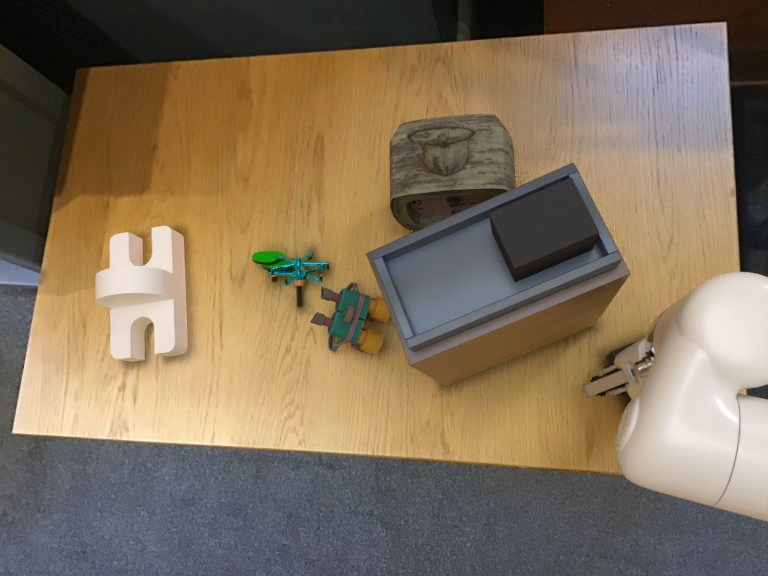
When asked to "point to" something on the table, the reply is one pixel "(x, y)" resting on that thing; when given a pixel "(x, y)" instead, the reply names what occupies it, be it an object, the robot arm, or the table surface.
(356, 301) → the binoculars
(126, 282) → the white slotted bracket
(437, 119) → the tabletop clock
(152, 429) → the table surface
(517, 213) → the dark grey block
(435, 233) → the brown and grey box
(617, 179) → the table surface
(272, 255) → the stick construction toy
